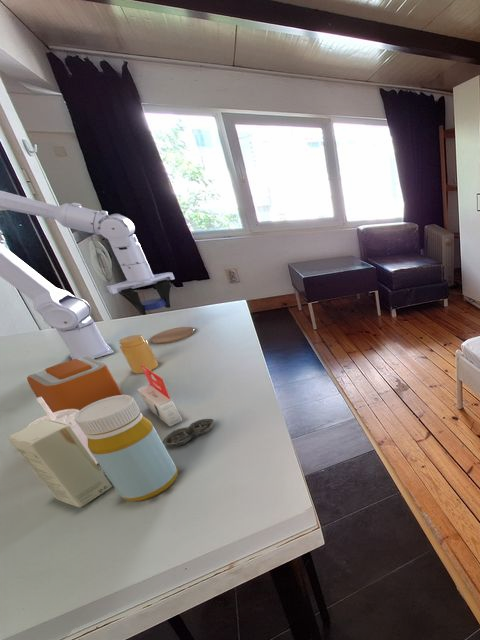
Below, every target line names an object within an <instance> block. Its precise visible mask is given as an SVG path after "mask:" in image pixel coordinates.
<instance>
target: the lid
mask: <svg viewBox="0 0 480 640" xmlns="http://www.w3.org/2000/svg"><path fill="white" fill-rule="evenodd" d="M140 302H141V304H142V306H143V308H144V309H145V311H154V310H157V309H158V310H159V309H162V308H165V306H166V302H165V300H164V299H162V298H159V297H158V298H150V299H148V300H144V301H140Z"/></svg>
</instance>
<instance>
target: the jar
mask: <svg viewBox="0 0 480 640" xmlns="http://www.w3.org/2000/svg"><path fill="white" fill-rule="evenodd" d="M118 344H119V345H120V346H119V349H120V351H121V353H122V354H123V356H124V359H125V361H126V362H127V364H128V366H129V369H130V370H131V371H132V373H133V374H145V373H144V371H143V369H142V367H141V365H143V366H144V367H146V368H147V369H149V370H151V371H153V370H155V369H157V368H158V367H159V363H158V360H157V358H156V357H155V354H154V352H153V350H152V348H151V347H150V344H149V342H148V340H147V339H145V338H144V336H143V335H142V334H134V335H128V336H126V337H123V338H120V339H119V340H118Z"/></svg>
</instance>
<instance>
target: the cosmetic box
mask: <svg viewBox="0 0 480 640" xmlns="http://www.w3.org/2000/svg"><path fill="white" fill-rule="evenodd" d="M6 439H7V440H8V441H9V442H10V444H11V445H12V447H14V449H15V450H16V451H17V452H18V453H19V455H20V456H21V457H22V459H23V460H24V461H25V462H26V463H27V465H28V466H29V467H30V468H31V469H32V471H33V472H34V473H35V474H36V476H37V477H38V478H39V479H40V480H41V482H42V483H43V485H44V486H45V487H46V488H47V489H48V490H49V492H50V493H51V494H52V495H53V496H54V497H55V499H56V500H58V501H60V502H62V503H65V504H68V505H71V506H74V507H77V508H83V507H84V506H85V505H87V504H89V503H90V502H92V501H93V500H94V499H96V498H97V497H99V496H100V495H102V494H104V493H105V492H107V491H108V490H109V489H111V488H112V487H113V484H112V483H111V482H110V480H108V479H107V478H108V477H106V476H105V473H103V472H102V470H101V469H100V468H99V467H100V466H98V464H96V463H95V462H94V460H93V459H92V457H91V456H90V455H89V453H88V452H87V450H86V449H85V448H84V446H83V445H82V443H81V442H80V441H79V439H78V438H77V436H76V435H75V433H74V432H73V431H72V429H71V428H70V426H69V425H67V424H64V423H60V422H56V421H51V420H46V419H45V420H43V421H41V422H38V423H36V424H34V425H32V426H30V427H28V428H26V427H24V428H23V429H21V430H19V431H17V432H14V433H12V434H10V435H8V436H7V437H6Z"/></svg>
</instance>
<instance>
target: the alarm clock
mask: <svg viewBox="0 0 480 640" xmlns="http://www.w3.org/2000/svg"><path fill="white" fill-rule="evenodd" d="M26 379H27V383H28V385H29V387H30V389H31V391H32V392H33V394H34V395H35V397H36V398H38V397H42V398H43V400H44V401H45V403H46V404H47V405H48V407H49V408H50V410H51V411H52V413H54V412H57V411H61V410H66V409H78V410H79V411H80V410H81V409H83V408H84V407H86V406H88V405H90V404H92V403H94V402H96V401H99V400H102V399H105V398H108V397H112V396H117V395H124V392H123V391H122V389H121V388H120V386H119V385H118V383H117V381H116V380H115V378H114V376H113V374H112V373H111V371H110V369H109V367H108V365H106V363H104V362H102V361H100V360H97V359H96V358H94V359H93V358H90V357H83V358H80V359H73V360H72V359H70V360H67V361H64V362H61V363H58V364H55V365H52V366H49V367H45V369H44V370H42V371H38V372H35V373H32V374H30V375H28V376H27V377H26Z"/></svg>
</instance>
